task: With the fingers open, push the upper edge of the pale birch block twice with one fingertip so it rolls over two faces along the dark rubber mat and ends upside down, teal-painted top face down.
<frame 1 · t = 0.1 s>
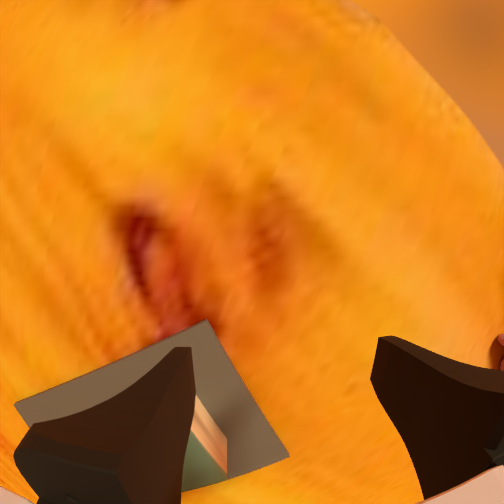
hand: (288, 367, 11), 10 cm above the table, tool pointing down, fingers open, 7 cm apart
birch block: (183, 427, 21), point 1 cm above the table, touching rubber mat
rubber mat: (135, 438, 21), on the table
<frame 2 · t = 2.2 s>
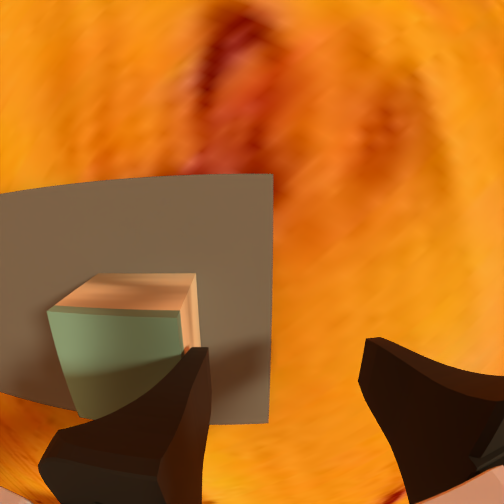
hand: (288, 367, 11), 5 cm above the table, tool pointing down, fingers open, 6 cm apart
birch block: (150, 321, 15), point 1 cm above the table, touching gripper, rubber mat
rubber mat: (71, 313, 15), on the table
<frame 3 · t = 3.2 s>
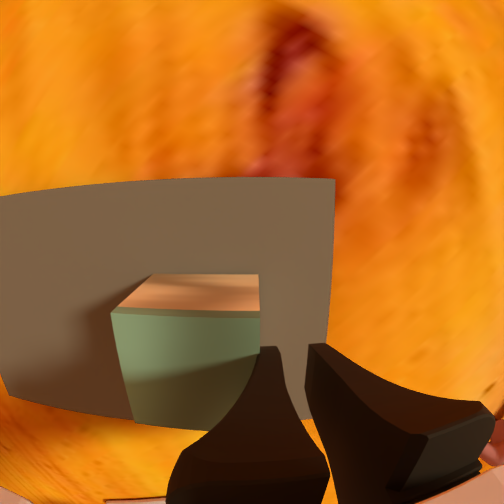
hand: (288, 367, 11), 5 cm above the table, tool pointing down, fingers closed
video game controller: (500, 409, 21), on the table
birch block: (206, 323, 15), point 1 cm above the table, touching gripper, rubber mat
rubber mat: (119, 316, 15), on the table
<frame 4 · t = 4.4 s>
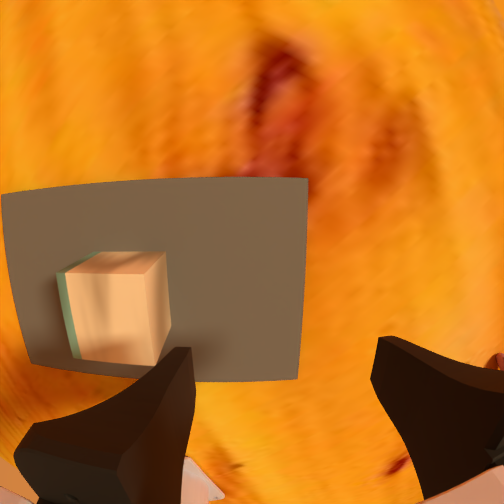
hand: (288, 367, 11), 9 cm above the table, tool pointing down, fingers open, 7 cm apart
birch block: (159, 304, 17), point 3 cm above the table, tilted 90°, touching rubber mat
rubber mat: (136, 287, 20), on the table
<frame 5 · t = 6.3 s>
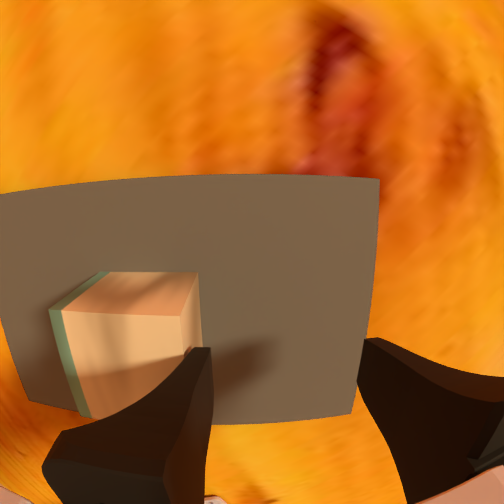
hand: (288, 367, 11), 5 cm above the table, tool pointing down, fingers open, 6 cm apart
birch block: (194, 346, 12), point 3 cm above the table, tilted 91°, touching gripper, rubber mat
rubber mat: (158, 317, 15), on the table
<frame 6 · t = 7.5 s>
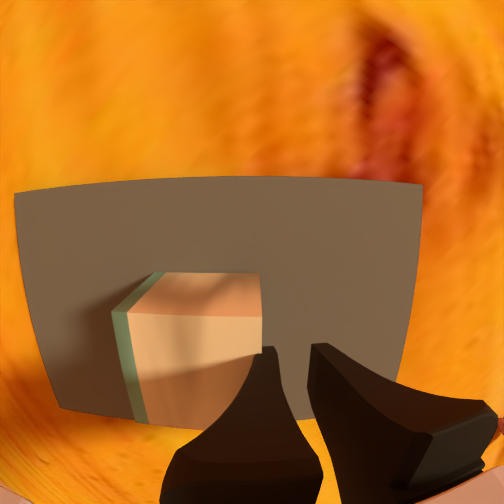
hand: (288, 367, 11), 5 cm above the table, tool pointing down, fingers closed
birch block: (260, 347, 12), point 3 cm above the table, tilted 94°, touching gripper, rubber mat
rubber mat: (212, 317, 16), on the table
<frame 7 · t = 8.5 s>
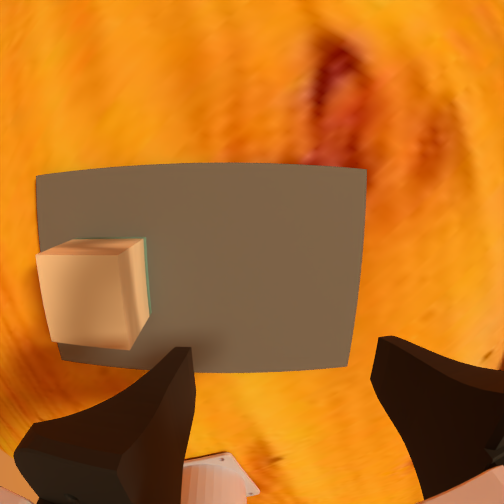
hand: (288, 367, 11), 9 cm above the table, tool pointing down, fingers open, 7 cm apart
birch block: (79, 303, 14), point 6 cm above the table, tilted 180°, touching rubber mat
rubber mat: (191, 275, 20), on the table
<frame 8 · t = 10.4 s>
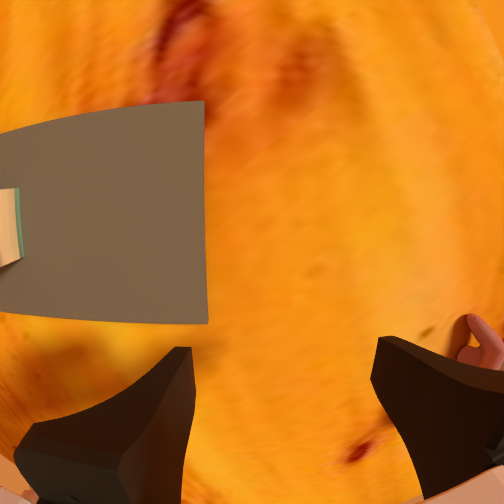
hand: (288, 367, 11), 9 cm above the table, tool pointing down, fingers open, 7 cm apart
video game controller: (446, 361, 23), on the table
rubber mat: (52, 221, 18), on the table
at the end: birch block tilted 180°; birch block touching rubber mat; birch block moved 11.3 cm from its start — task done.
